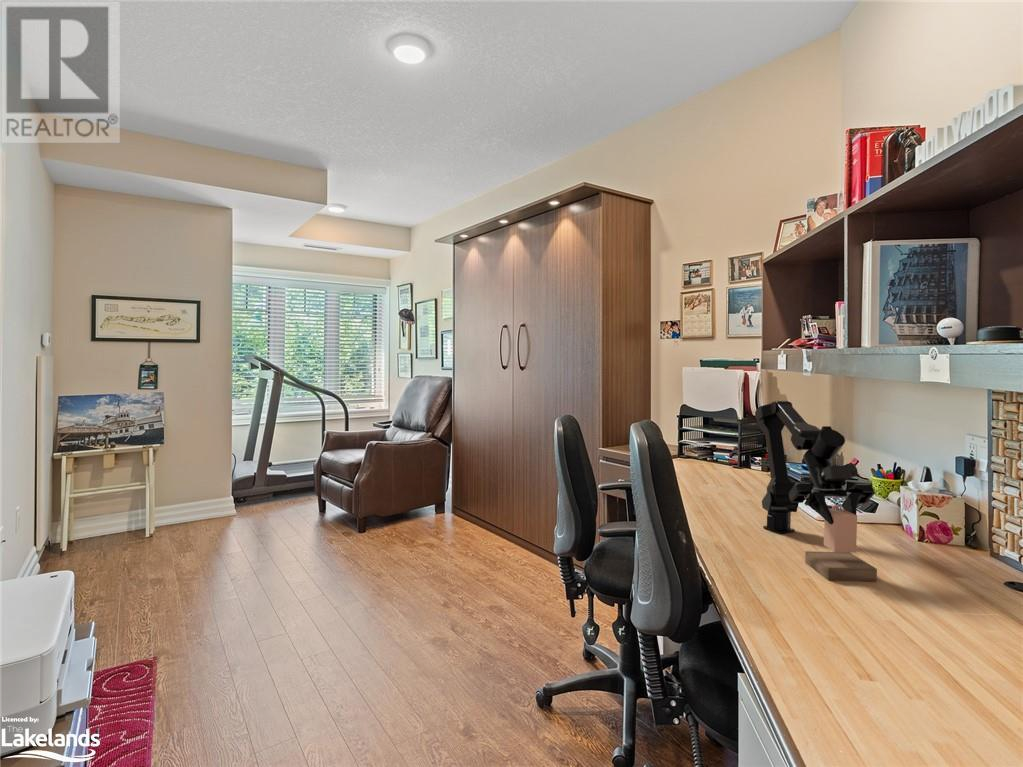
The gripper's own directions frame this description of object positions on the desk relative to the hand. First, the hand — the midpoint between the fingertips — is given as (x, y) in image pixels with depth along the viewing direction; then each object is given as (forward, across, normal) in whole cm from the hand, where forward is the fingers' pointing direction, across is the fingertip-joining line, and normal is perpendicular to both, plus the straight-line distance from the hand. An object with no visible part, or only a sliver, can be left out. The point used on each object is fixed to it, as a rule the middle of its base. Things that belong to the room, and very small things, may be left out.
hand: (843, 523), depth 128 cm
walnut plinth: (+8, 0, +10) cm, 12 cm away
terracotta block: (+4, 0, +6) cm, 7 cm away
